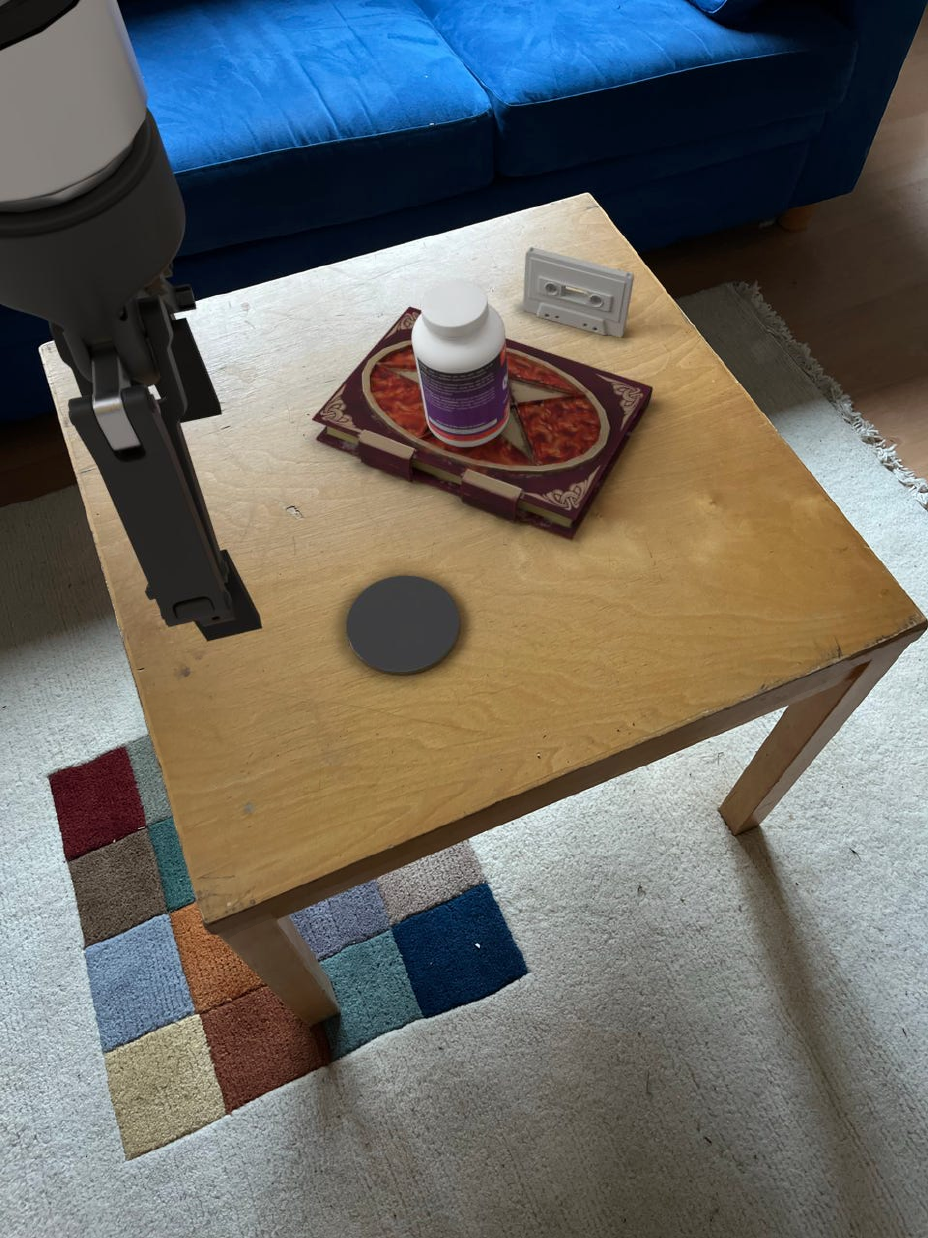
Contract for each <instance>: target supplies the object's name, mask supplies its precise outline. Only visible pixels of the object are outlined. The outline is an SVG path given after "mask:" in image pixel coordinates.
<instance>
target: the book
mask: <svg viewBox="0 0 928 1238" xmlns="http://www.w3.org/2000/svg"><path fill="white" fill-rule="evenodd" d="M420 314H421V309H419V308H416V307H413V306H408V307H407V308H406V310H404V312H403V313H402V314H401V315H400V317H399V318H398V319H397V320H396V321H395V322H394V324H393V325H392V326H391V327H390V328H389V329H388V330H387V332H386V333H384V334H383V336H382V337H381V339H380V340H378V342H377V343H376V344H375V346H373V348H372V349H371V350H370V351H369V352H368V353H367V354H366V356H365V357H364V358H363V359H362V360H361V361H360V363H359V364H358V365H357V366H356V367H355V369H354V370H352V372H351V373H350V374H349V375H348V377H346V379H345V380H344V381H343V382H342V383H341V385H340V386H339V387H337V389H336V391H334V393H333V394H332V395H331V396H330V397H329V398H328V400H327V401H326V402H325V403H324V404H323V406H322V407H321V408H320V409H319V410H318V411H317V412H316V413H315V415H314V416H313V417H312V418H311V421H313V422H316V423H318V424H321V425H322V426H325V427H324V428H323V429H322V430H321V432H320V433H319V434H318V435H317V436H316V437H315V440H316V441H317V442H318V443H321V444H325V445H327V446H329V447H332V448H335V449H336V450H337V449H338V450H340V451H342V452H344V453H347V454H350V455H352V456H355V457H357V458H359V459H360V463H361V464H364V465H366V466H369V467H371V468H374V469H377V470H379V471H382V472H384V473H386V474H390V475H392V476H393V477H394V476H395V477H397V478H399V479H402V480H405V481H407V482H409V483H411V482H414V481H415V480H416V481H419V482H422V483H425V484H427V485H430V486H432V487H434V488H437V489H439V490H443V491H445V492H448V493H451V494H452V495H456V496H457V497H460V498H461V503H464V504H467V505H469V506H471V507H474V508H476V509H479V510H481V511H484V512H487V513H489V514H491V515H494V516H496V517H499V518H502V519H505V520H507V521H510V522H512V523H517V522H518V520H519V521H522V522H524V523H528V524H530V525H532V526H534V527H538V528H540V529H543V530H544V531H545V530H546V531H548V532H550V533H553V534H556V535H558V536H561V537H563V538H566V539H569V540H573V539H574V537H575V535H576V534H577V532H578V530H579V528H580V526H581V525H582V523H583V521H584V519H585V517H586V516H587V514H588V512H589V511H590V508H591V507H592V506H593V504H594V502H595V500H596V498H597V496H598V495H599V493H600V491H601V490H602V487H603V486H604V484H605V482H606V481H607V479H608V477H609V476H610V473H611V472H612V470H613V468H614V466H615V465H616V463H617V461H618V460H619V458H620V456H621V454H622V452H623V451H624V449H625V447H626V446H627V444H628V442H629V440H630V439H631V437H632V436H633V433H634V432H635V429H636V428H637V426H638V424H639V423H640V421H641V419H642V418H643V416H644V414H645V412H646V410H647V409H648V407H649V404H650V403H651V402H650V401H651V399H652V394H653V391H654V388H653V386H652V385H649V384H646V383H643V382H639V381H637V380H634V379H630V378H627V377H625V376H621V375H618V374H615V373H612V372H609V371H606V370H603V369H600V368H598V367H594V366H592V365H589V364H585V363H582V362H580V361H576V360H573V359H570V358H567V357H564V356H562V355H558V354H555V353H552V352H549V351H546V350H543V349H540V348H537V347H534V346H531V345H528V344H525V343H522V342H518V341H516V340H512V339H510V338H507V337H506V355H507V371H508V388H509V403H510V414H509V418H508V421H507V424H506V426H505V427H504V429H503V430H502V431H501V432H500V433H499V434H498V435H497V436H496V437H495V438H493V439H492V440H490V441H488V442H486V443H484V444H481V445H478V446H473V447H458V446H453V445H450V444H447V443H445V442H443V441H442V440H440V439H439V438H438V437H436V436H435V435H434V434H433V432H432V431H431V430H430V428H429V426H428V423H427V420H426V416H425V410H424V404H423V399H422V393H421V388H420V382H419V377H418V372H417V367H416V362H415V356H414V351H413V346H412V330H413V327H414V324H415V322H416V320H417V318H418V317H419V316H420Z"/></svg>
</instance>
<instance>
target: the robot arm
mask: <svg viewBox="0 0 928 1238" xmlns="http://www.w3.org/2000/svg"><path fill="white" fill-rule="evenodd" d="M132 45H133V44H132V42H131V39H130V36H129V33H128V30H127V27H126V24H125V22H124V19H123V16H122V13H121V10H120V7H119V4H118V1H117V0H0V305H2V306H4V307H7V308H9V309H12V310H15V311H17V312H21V313H26V314H29V315H32V316H35V317H38V318H40V319H43V320H46V321H48V326H49V331H50V334H51V337H52V339H53V342H54V345H55V348H56V350H57V353H58V356H59V358H60V359H61V362H62V363H64V364H65V365H66V366H68V367H69V368H70V369H71V371H72V374H73V376H74V379H75V382H76V386H77V388H78V390H79V393H80V396H79V397H73V398H69V399H68V403H67V407H68V412H67V415H68V419H69V422H70V423H71V425H72V426H73V427H74V428H75V430H76V432H77V434H78V436H79V437H80V439H81V441H82V443H83V444H84V446H85V448H86V449H87V451H88V453H89V455H90V456H91V458H92V459H93V462H94V463H95V465H96V467H97V470H98V471H99V474H100V475H101V478H102V481H103V483H104V485H105V488H106V489H107V492H108V494H109V497H110V499H111V502H112V503H113V506H114V508H115V510H116V513H117V515H118V517H119V520H120V522H121V524H122V526H123V528H124V531H125V533H126V535H127V538H128V540H129V542H130V544H131V547H132V549H133V551H134V555H135V556H136V558H137V560H138V563H139V565H140V568H141V570H142V572H143V574H144V577H145V579H146V582H147V584H146V587H145V590H144V593H145V595H146V598H147V599H148V600H149V601H153V600H155V602H156V604H157V607H158V609H159V615H160V617H161V619H162V620H164V623H165V625H166V627H168V628H171V627H177V626H180V625H186V624H189V623H194V625H196V627H197V629H198V630H199V632H200V634H202V636H203V638H204V639H205V641H206V642H212V641H216V640H220V639H225V638H228V637H232V636H238V635H241V634H245V633H249V632H253V631H257V630H262V629H263V625H262V620H261V619H262V618H261V614H260V613H259V611H258V609H257V607H256V605H255V602H254V601H253V598H252V597H251V595H250V593H249V591H248V589H247V587H246V584H245V583H244V580H243V579H242V577H241V575H240V573H239V571H238V569H237V567H236V565H235V562H234V561H233V559H232V557H231V555H230V553H229V552H228V549H227V548H225V549H220V546H219V542H218V539H217V536H216V532H215V529H214V526H213V523H212V520H211V517H210V514H209V513H210V512H209V510H208V507H207V503H206V501H205V497H204V495H203V491H202V489H201V488H202V487H201V485H200V484H201V483H200V481H199V479H198V478H199V477H198V476H197V472H196V469H195V466H194V463H193V460H192V455H191V453H190V450H189V446H188V443H187V440H186V437H185V433H184V431H183V428H182V424H183V423H188V422H193V421H197V420H203V419H207V418H212V417H216V416H222V415H223V411H222V405H221V401H220V400H219V397H218V395H217V392H216V390H215V387H214V384H213V383H212V379H211V377H210V374H209V372H208V370H207V367H206V364H205V362H204V359H203V356H202V354H201V351H200V349H199V347H198V343H197V341H196V339H195V336H194V334H193V331H192V329H191V327H190V324H189V321H188V319H187V317H181V318H177V317H176V315H175V314H179V313H185V312H190V311H194V310H197V302H196V299H195V295H194V292H193V289H192V287H191V283H185V284H180V285H176V286H175V285H172V284H171V283H170V282H169V281H168V280H167V279H166V278H170V277H173V268H174V265H173V260H174V258H175V257H176V255H177V253H178V252H179V249H180V247H181V245H182V241H183V239H184V235H185V231H186V209H185V204H184V199H183V198H182V193H181V190H180V187H179V185H178V183H177V180H176V177H175V173H174V170H173V168H172V165H171V164H172V163H171V161H170V159H169V156H168V153H167V151H166V147H165V144H164V141H163V138H162V136H161V132H160V130H159V127H158V124H157V121H156V119H155V117H154V115H153V113H152V112H151V111H150V109H149V108H148V106H147V105H148V100H149V99H148V93H147V88H146V85H145V81H144V77H143V75H142V71H141V68H140V65H139V63H138V59H137V57H136V54H135V51H134V48H133V46H132ZM153 386H154V388H155V389H156V391H157V393H158V396H159V398H156V397H155V395H154V393H151V391H150V387H153Z"/></svg>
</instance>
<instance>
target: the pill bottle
mask: <svg viewBox="0 0 928 1238" xmlns="http://www.w3.org/2000/svg"><path fill="white" fill-rule="evenodd" d="M420 310H421V314H420V316H419V317H418V318H417V320H416V322H415V324H414V327H413V330H412V346H413V351H414V356H415V362H416V367H417V372H418V377H419V382H420V388H421V393H422V399H423V404H424V410H425V416H426V420H427V423H428V426H429V428H430V430H431V431H432V432H433V434H434V435H435V436H436V437H438V438H439V439H440V440H442V441H443V442H445V443H447V444H450V445H453V446H458V447H473V446H478V445H481V444H484V443H486V442H488V441H490V440H492V439H493V438H495V437H496V436H497V435H498V434H499V433H500V432H501V431H502V430H503V429H504V427H505V426H506V424H507V421H508V418H509V414H510V403H509V388H508V371H507V355H506V338H507V337H506V327H505V323H504V320H503V318H502V316H501V314H500V313H499V312H498V310H497V309H496V308H494V307H493V306H492V305H491V304H490V303H489V300H488V295H487V293H486V291H485V289H484V288H483V287H482V286H481V285H480V284H478V283H477V282H476V281H473V280H470V279H467V278H460V277H458V278H455V277H453V278H448V279H443V280H440V281H438V282H436V283H434V284H433V285H431V286H430V287H428V289H427V290H426V291H425V292H424V293H423V295H422V297H421V300H420Z"/></svg>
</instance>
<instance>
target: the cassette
mask: <svg viewBox="0 0 928 1238" xmlns="http://www.w3.org/2000/svg"><path fill="white" fill-rule="evenodd" d="M524 262H525V263H524V275H523V276H524V278H523V281H524V282H523V297H522V309H523V311H524V312H526V313H530V314H533V315H536V317H537V318H541V319H544V320H548V321H552V322H555V323H558V324H562V325H565V326H569V327H573V328H577V329H580V330H583V331H588V332H591V333H595V334H598V335H602V336H607V335H608V336H612V337H616V338H622V337H623V335H625V332H626V327H627V321H628V314H629V309H630V303H631V299H632V293H633V286H634V281H635V274H634V273H632V272H629V271H625V270H621V269H617V268H614V267H610V266H605V265H601V264H598V263H594V262H591V261H586V260H583V259H580V258H575V257H571V256H566V255H563V254H560V253H555V252H552V251H548V250H545V249H540V248H536V247H533V246H530V247H529V248H528V249H527V250H526V252H525V258H524ZM577 290H579V291H577ZM581 291H582V292H581ZM584 292H586V293H584Z"/></svg>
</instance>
